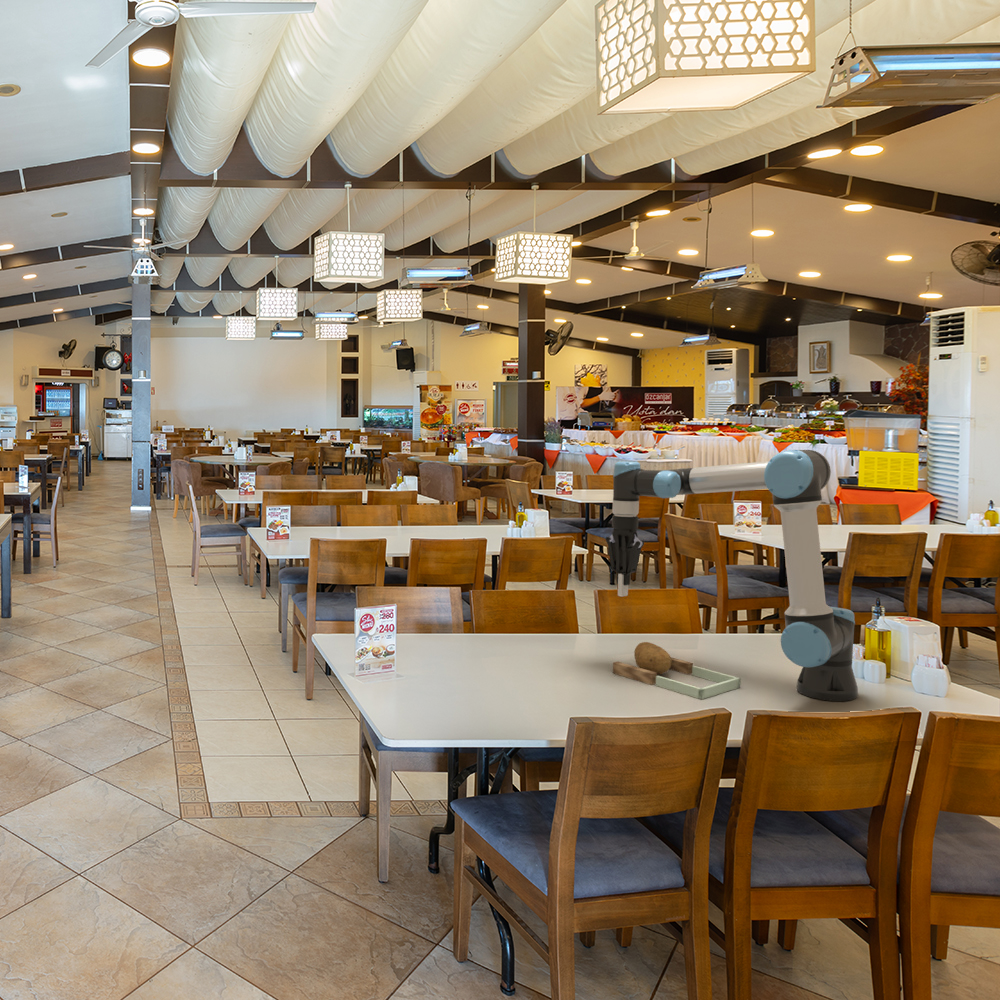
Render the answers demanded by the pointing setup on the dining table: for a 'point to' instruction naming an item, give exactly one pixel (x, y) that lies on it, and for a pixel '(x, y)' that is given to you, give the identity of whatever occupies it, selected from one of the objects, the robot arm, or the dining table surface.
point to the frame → (722, 686)
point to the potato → (652, 658)
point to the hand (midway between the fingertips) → (622, 595)
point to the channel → (648, 675)
